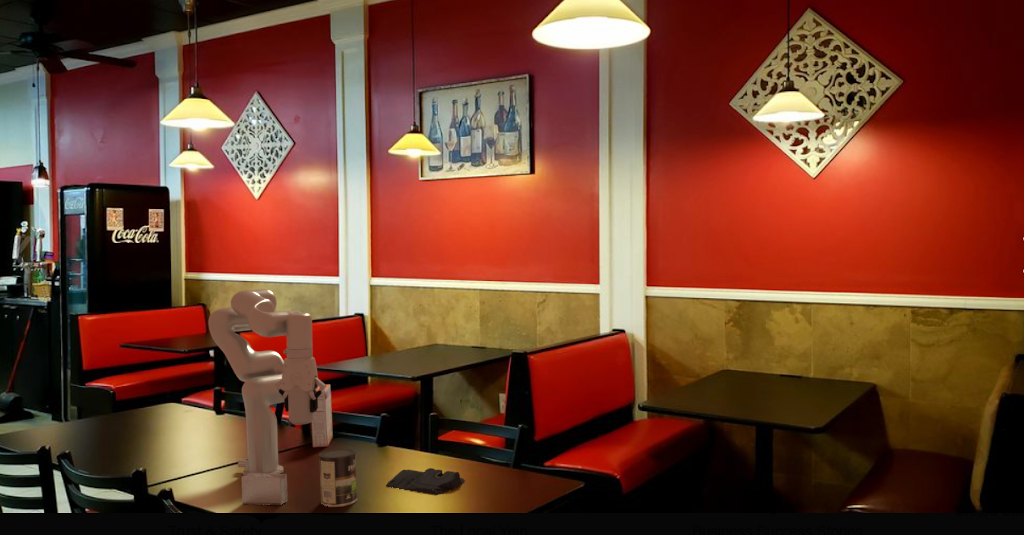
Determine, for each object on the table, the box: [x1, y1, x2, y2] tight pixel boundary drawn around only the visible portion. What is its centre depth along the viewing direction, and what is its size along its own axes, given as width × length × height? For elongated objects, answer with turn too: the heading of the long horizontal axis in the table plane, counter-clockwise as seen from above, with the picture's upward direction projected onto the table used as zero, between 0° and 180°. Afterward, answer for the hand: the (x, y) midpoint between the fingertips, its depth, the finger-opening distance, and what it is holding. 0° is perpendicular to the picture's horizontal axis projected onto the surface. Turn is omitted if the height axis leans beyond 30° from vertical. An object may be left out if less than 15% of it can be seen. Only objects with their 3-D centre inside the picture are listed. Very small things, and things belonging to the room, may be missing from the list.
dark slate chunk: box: [385, 467, 466, 496], centre depth 244 cm, size 15×22×5 cm
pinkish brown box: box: [241, 473, 289, 506], centre depth 230 cm, size 12×4×8 cm, turn 78°
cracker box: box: [311, 384, 334, 448], centre depth 299 cm, size 14×6×21 cm, turn 5°
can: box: [288, 386, 314, 426], centre depth 243 cm, size 8×8×12 cm
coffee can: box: [318, 448, 358, 508], centre depth 229 cm, size 10×10×14 cm
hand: (301, 410), depth 243 cm, fingers closed on can, 7 cm apart
